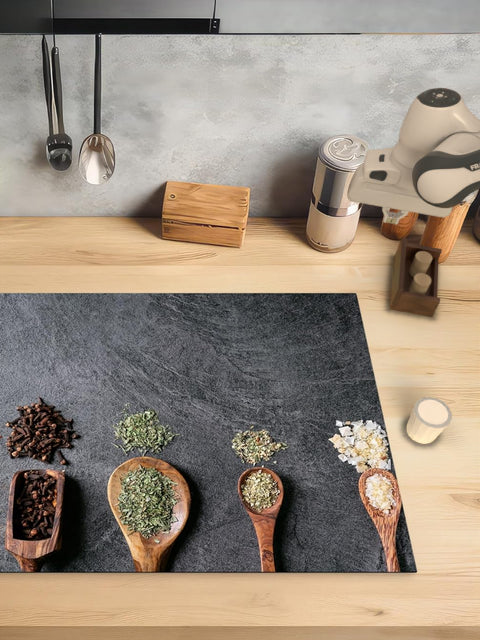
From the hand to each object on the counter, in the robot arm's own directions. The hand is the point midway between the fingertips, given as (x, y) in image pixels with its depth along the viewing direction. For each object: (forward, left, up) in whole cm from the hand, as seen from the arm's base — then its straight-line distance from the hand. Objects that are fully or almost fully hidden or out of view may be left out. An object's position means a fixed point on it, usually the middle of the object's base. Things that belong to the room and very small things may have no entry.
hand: (390, 221), depth 152 cm
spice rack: (-8, -5, -17) cm, 20 cm away
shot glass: (-30, +26, -18) cm, 44 cm away
